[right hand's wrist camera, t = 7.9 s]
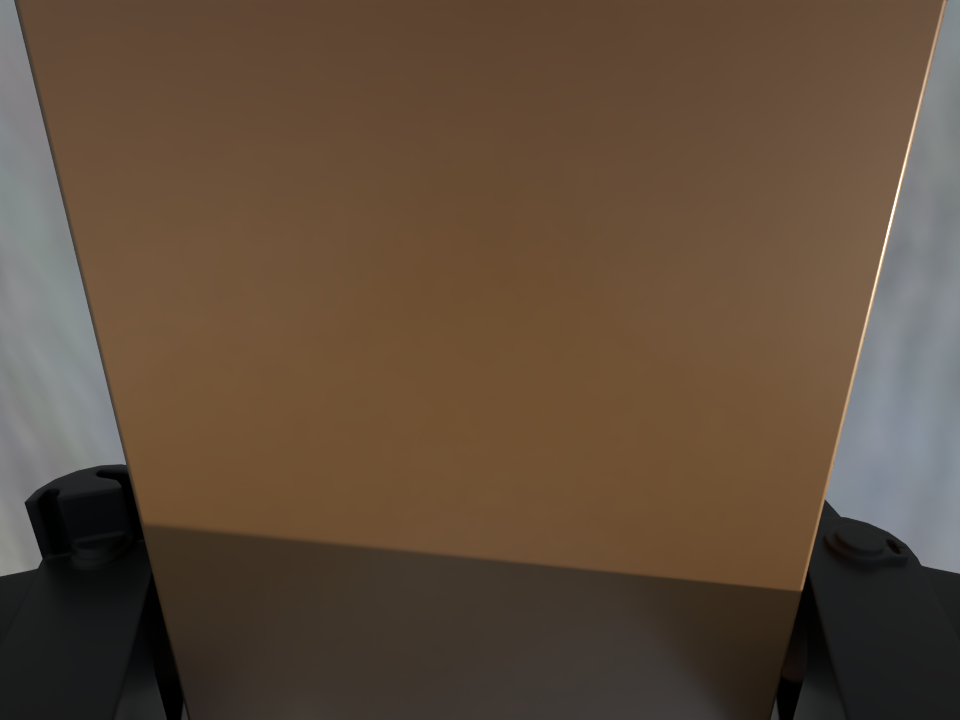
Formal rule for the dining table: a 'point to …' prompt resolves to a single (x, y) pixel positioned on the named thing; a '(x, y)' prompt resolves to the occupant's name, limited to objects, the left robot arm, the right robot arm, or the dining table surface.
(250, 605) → the box
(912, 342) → the dining table surface
